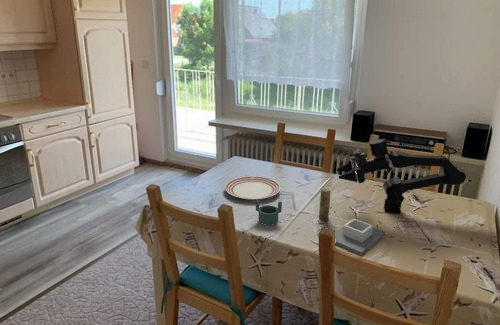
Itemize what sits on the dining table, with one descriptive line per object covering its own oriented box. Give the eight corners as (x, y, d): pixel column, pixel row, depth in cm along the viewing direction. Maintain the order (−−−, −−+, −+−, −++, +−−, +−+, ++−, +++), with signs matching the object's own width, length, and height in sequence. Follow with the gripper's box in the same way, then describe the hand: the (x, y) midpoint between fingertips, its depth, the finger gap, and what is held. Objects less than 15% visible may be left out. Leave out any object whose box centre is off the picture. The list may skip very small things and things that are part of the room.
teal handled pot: (283, 222, 150) (283, 202, 148) (264, 227, 146) (265, 207, 143) (270, 213, 158) (271, 194, 155) (252, 218, 153) (253, 199, 150)
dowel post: (329, 216, 155) (331, 189, 151) (327, 220, 152) (329, 193, 147) (319, 215, 156) (321, 188, 152) (317, 219, 153) (320, 191, 149)
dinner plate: (272, 207, 163) (272, 201, 162) (216, 199, 171) (216, 192, 170) (285, 185, 188) (286, 179, 187) (236, 179, 196) (236, 173, 195)
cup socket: (353, 222, 150) (354, 211, 149) (385, 234, 141) (387, 222, 140) (326, 240, 137) (328, 228, 135) (361, 255, 128) (362, 242, 126)
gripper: (366, 141, 162) (331, 150, 166) (374, 154, 145) (335, 163, 148) (371, 164, 165) (337, 172, 169) (379, 179, 148) (341, 188, 151)
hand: (337, 173), depth 159 cm, fingers open, 9 cm apart
